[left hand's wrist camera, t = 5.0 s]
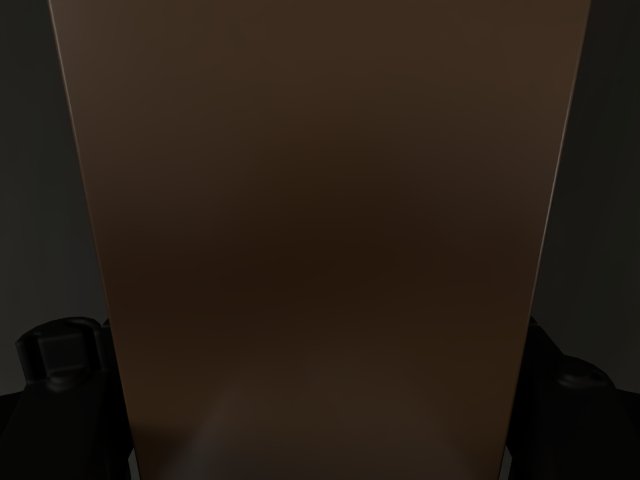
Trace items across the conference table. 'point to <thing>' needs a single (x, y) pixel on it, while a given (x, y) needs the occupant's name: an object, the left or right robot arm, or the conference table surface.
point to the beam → (319, 223)
